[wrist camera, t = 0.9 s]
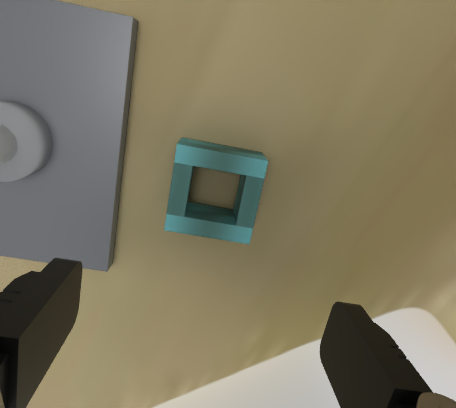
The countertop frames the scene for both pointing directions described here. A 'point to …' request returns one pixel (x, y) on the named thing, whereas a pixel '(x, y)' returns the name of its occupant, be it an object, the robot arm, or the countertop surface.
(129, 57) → the shaft stand
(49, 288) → the robot arm
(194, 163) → the collar
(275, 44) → the countertop surface
